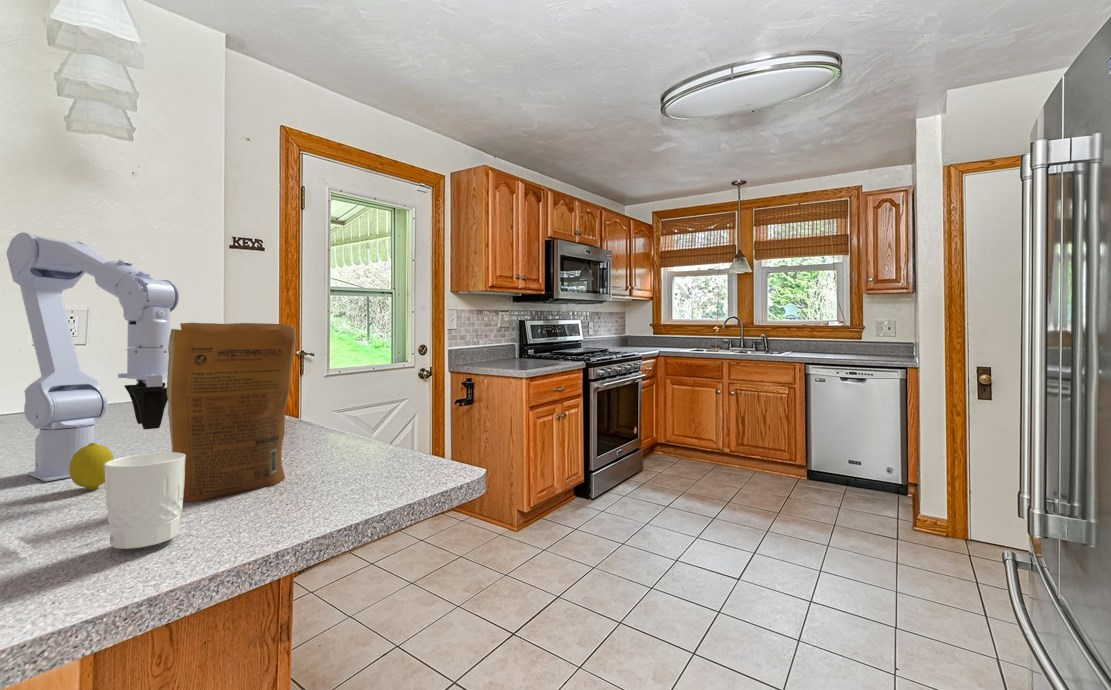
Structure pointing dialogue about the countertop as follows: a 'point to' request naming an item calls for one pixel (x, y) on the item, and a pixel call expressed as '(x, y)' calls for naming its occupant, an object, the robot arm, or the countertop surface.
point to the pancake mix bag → (229, 404)
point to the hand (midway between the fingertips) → (148, 425)
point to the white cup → (144, 498)
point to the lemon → (89, 466)
